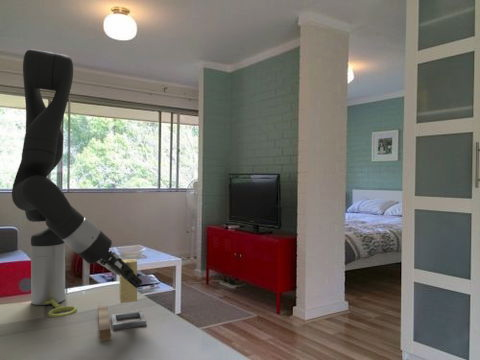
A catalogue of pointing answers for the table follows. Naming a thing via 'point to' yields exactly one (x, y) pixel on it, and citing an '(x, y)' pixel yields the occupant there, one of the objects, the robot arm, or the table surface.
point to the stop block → (128, 284)
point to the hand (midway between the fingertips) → (135, 282)
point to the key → (60, 309)
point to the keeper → (128, 324)
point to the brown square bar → (104, 323)
